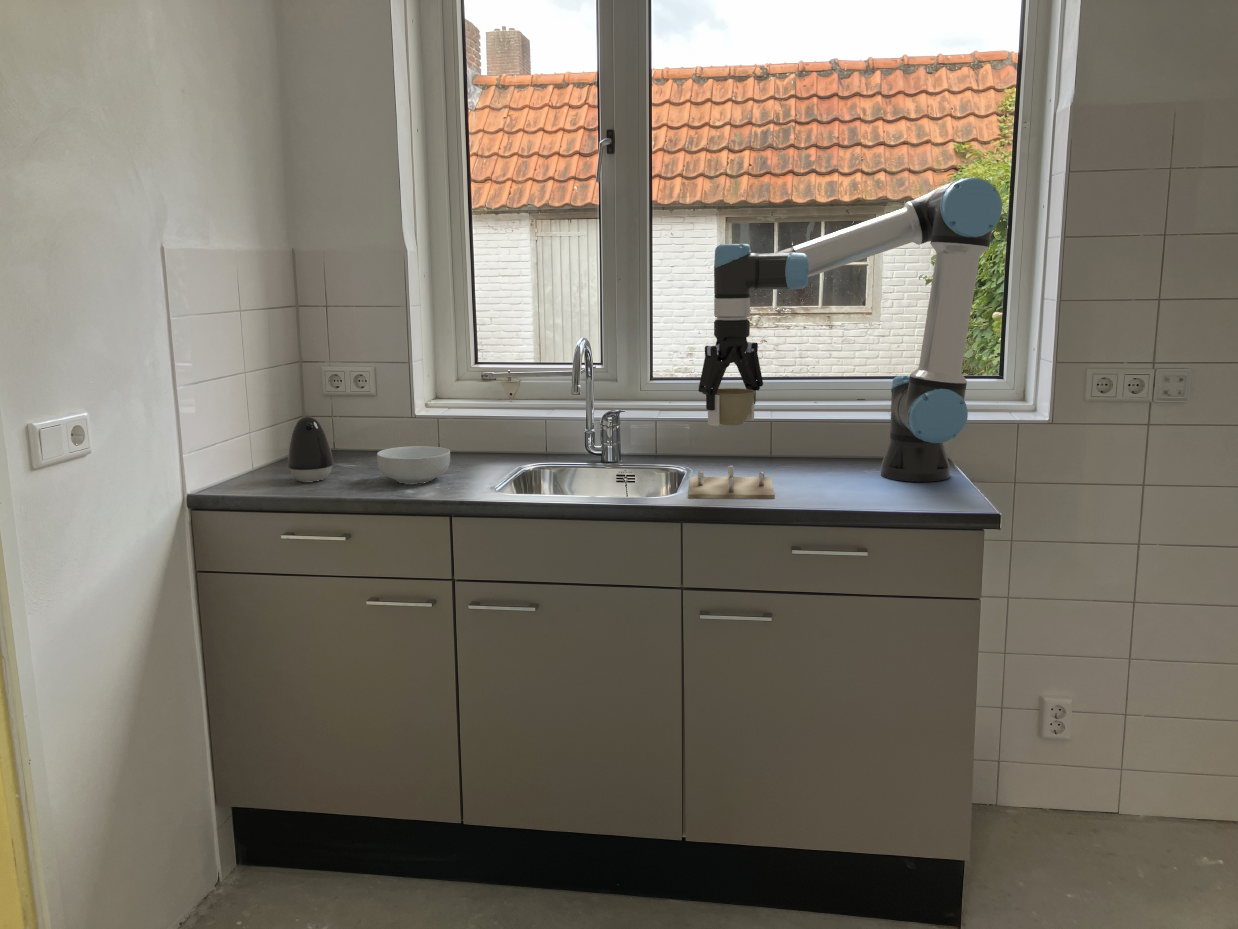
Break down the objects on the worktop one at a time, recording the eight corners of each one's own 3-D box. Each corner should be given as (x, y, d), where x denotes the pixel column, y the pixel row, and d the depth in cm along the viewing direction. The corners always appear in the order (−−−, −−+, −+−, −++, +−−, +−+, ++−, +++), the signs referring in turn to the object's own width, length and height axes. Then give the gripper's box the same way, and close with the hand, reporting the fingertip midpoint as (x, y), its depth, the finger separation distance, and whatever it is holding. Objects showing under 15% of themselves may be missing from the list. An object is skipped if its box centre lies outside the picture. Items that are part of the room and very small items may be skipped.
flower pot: (715, 428, 211) (715, 394, 210) (702, 421, 221) (702, 388, 219) (761, 426, 213) (761, 392, 211) (746, 419, 222) (746, 387, 221)
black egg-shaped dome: (291, 486, 230) (285, 421, 227) (287, 478, 239) (282, 415, 236) (336, 482, 233) (332, 417, 231) (331, 474, 243) (327, 412, 240)
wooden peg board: (770, 480, 227) (770, 464, 227) (774, 498, 210) (774, 480, 209) (691, 480, 229) (690, 463, 229) (688, 498, 212) (688, 480, 211)
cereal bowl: (435, 490, 224) (433, 458, 223) (366, 488, 227) (364, 457, 226) (462, 474, 240) (460, 445, 239) (397, 473, 244) (395, 444, 242)
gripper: (755, 315, 222) (754, 415, 227) (680, 320, 208) (680, 426, 213) (781, 316, 217) (779, 418, 221) (705, 321, 203) (705, 430, 207)
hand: (731, 422), depth 217 cm, fingers closed on flower pot, 10 cm apart
